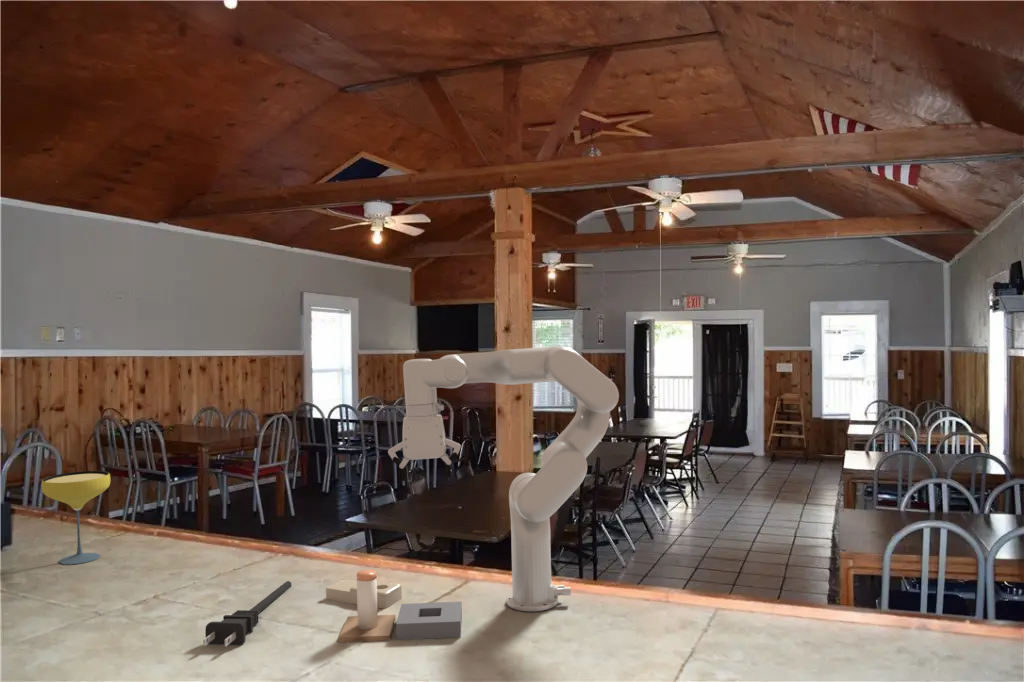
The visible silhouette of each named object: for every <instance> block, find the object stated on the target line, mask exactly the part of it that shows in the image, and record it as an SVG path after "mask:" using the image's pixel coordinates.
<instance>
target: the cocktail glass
mask: <svg viewBox="0 0 1024 682" xmlns="http://www.w3.org/2000/svg"><path fill="white" fill-rule="evenodd" d="M110 484H111V474H110V472H108V471H106V470H105V471H103V470H87V471H86V470H83V471H74V472H66V473H59V474H55V475H51V476H48V477H45V478H43V479H42V480H41V492H42V493H43V495H45V496H46V497H48V499H52V500H54V501H58V502H61V503H64V504H66V505H68V506H70V507H71V509H73V510H74V511H76V528H77V548H76V553H75V554H72V555H71V554H70V555H68V556H65V557H62V558H60V560H59V561H58V563H59V564H60V565H64V566H70V565H71V566H72V565H83V564H87V563H90V562H94V561H97V560H98V559H100V557H101V555H100V553H96V552H83V550H82V544H81V528H80V527H81V526H80V511H81V510H82V509H83V507H84V506H85V505H86V504H87V503H88V502H90V501H91V500H92V499H94V498H96V497H97V496H99V495H101V494H103V493H104V492H105V491H106V490H107V489H108V488H109V487H110Z"/></svg>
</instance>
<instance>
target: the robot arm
mask: <svg viewBox="0 0 1024 682" xmlns="http://www.w3.org/2000/svg"><path fill="white" fill-rule="evenodd" d="M402 372H403V374H402V375H403V386H404V401H405V402H404V403H405V415H406V416H404V417H403V422H402V441H401V442H399V443H397V444H395V445H394V446H392V447H391V448H389V449H388V451H387V453H388V456H389V457H390V458H391V460H392V462H393V463H394V464H396V465H397V466H398V467H399V469H400V472H401V473H400V476H401V477H400V478H401V482H404V486H407V485H408V484H409V469H408V466H407V464H408V463H409V461H414V460H415V461H417V460H429V459H439V458H440V459H441V460H442V461H443V462H444V465H443V466H444V480H445V481H444V482H446V483H448V482H449V478H452V470H451V469H452V466H451V465H452V463H453V462H454V460H456V458H457V457H458V454H459V453H460V450H461V447H462V445H461V444H460V443H459V442H456V441H454V440H451V439H448V438H446V431H445V425H444V424H445V423H444V420H443V416H442V414H439V412H441V411H444V410H445V406H444V404H440V403H439V402H438V395H437V392H438V391H437V388H439V389H440V388H441V389H442V388H443V389H457V388H459V387H461V386H463V385H464V384H475V383H476V384H478V383H479V384H480V383H493V384H499V385H507V386H509V385H522V384H523V385H524V384H525V385H526V384H537V383H538V384H539V383H547V382H548V383H551V382H557V384H558V385H560V386H561V387H562V388H563V389H564V390H566V391H567V392H568V393H569V394H571V395H572V396H573V397H574V398H576V401H577V409H576V413H575V415H574V416H573V418H572V420H571V421H570V422H569V424H567V426H566V427H565V429H564V430H562V432H561V433H560V434H559V435H558V436H556V438H555V439H554V440H553V442H551V443H550V444H549V445H548V446H547V447H546V449H544V451H543V452H542V455H541V457H540V464H541V468H540V469H539V470H538V471H537V472H536V473H534V472H523V473H521V474H519V475H517V476H515V478H514V479H512V482H511V484H510V486H509V492H508V502H509V503H508V504H509V514H510V516H509V517H510V531H511V532H510V534H511V538H510V539H511V578H512V585H511V587H512V592H511V593H509V594H508V595H507V597H506V604H507V606H508V607H509V608H511V609H514V610H517V611H520V612H521V611H522V612H542V611H546V610H550V609H553V608H554V607H556V606H557V604H558V603H559V596H566V597H567V596H571V595H572V594H571V593H572V592H571V590H572V589H571V586H569V587H568V586H567V587H566V586H565V585H564V584H562V585H561V584H559V585H555V584H554V583H553V580H552V560H551V557H552V556H551V553H552V552H551V550H552V549H551V521H550V518H551V517H552V516H553V515H554V514H555V513H556V512H558V510H559V509H560V508H561V506H562V505H563V504H565V502H567V501H568V499H569V498H570V497H571V496H572V495H573V493H574V492H576V490H577V489H578V488H579V487H580V485H581V484H582V483H583V481H584V479H585V477H586V476H587V472H588V462H587V458H588V457H589V456H590V454H591V453H592V452H593V451H594V449H595V448H596V447H597V446H598V444H599V443H601V440H602V439H603V438H604V436H605V435H606V433H607V429H608V427H609V424H610V417H611V411H612V410H614V409H615V407H617V404H618V402H619V398H620V393H619V389H618V387H617V385H616V383H615V382H614V381H613V380H611V379H610V378H609V377H608V376H606V375H605V374H604V373H603V372H601V371H600V370H599V369H597V368H596V367H595V366H594V365H592V363H590V362H589V361H588V360H586V358H584V357H583V356H582V355H581V354H580V353H578V352H577V351H576V350H574V349H572V348H570V347H566V346H559V345H557V346H543V347H540V346H539V347H530V348H529V347H528V348H515V349H514V348H512V349H501V350H494V351H487V352H486V351H485V352H484V351H483V352H471V353H470V352H469V353H458V354H457V353H456V354H455V353H454V354H447V355H443V356H441V357H440V358H438V359H431V358H415V359H412V358H411V359H408V360H406V361H404V363H403V365H402ZM447 446H448V447H451V448H453V451H452V453H451V454H450V455H448V454H447V453H446V452H447ZM401 449H402V453H403V454H402V455H403V458H402V459H400V457H398V456H397V454H396V452H398V451H400V450H401Z"/></svg>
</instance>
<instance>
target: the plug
mask: <svg viewBox="0 0 1024 682" xmlns="http://www.w3.org/2000/svg"><path fill="white" fill-rule="evenodd" d="M377 574H378V573H377V571H376V570H374V569H363V570H359V571H357V572H356V581H357V607H356V608H357V615H356V616H358V628H360V629H372V628H375V627H377V625H378V624H377V615H378V607H377V581H378V580H377V579H378V578H377V577H378V576H377Z"/></svg>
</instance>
